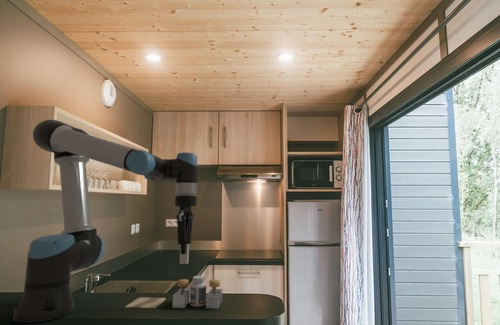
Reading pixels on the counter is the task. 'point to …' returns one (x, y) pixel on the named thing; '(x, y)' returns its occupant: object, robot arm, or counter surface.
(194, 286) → the pill bottle
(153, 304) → the coaster
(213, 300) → the set of grey blocks
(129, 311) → the counter surface
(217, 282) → the plunger
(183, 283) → the plunger
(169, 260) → the counter surface
